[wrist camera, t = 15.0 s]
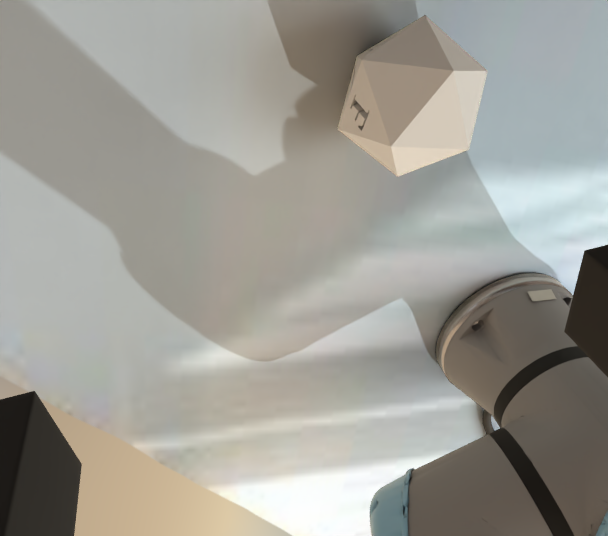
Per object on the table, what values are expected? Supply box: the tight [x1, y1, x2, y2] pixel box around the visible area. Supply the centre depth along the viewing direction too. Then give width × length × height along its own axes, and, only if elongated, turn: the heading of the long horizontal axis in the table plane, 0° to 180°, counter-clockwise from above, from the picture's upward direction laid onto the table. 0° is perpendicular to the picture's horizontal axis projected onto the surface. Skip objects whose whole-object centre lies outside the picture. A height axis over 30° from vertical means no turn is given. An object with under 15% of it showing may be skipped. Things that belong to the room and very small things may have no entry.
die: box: [337, 15, 488, 177], centre depth 34 cm, size 8×9×10 cm
